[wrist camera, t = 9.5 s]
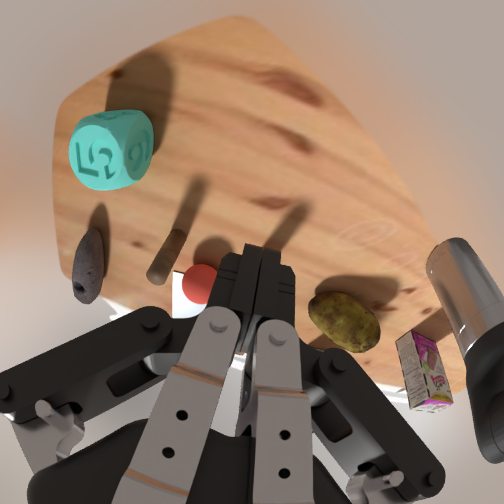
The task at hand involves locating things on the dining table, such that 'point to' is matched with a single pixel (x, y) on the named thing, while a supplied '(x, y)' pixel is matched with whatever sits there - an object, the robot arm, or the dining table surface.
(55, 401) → the robot arm
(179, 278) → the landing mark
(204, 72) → the dining table surface
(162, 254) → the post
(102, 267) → the perforated stone tool
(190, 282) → the ball
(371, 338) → the potato
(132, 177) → the decorative dice
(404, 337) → the candy bar box
